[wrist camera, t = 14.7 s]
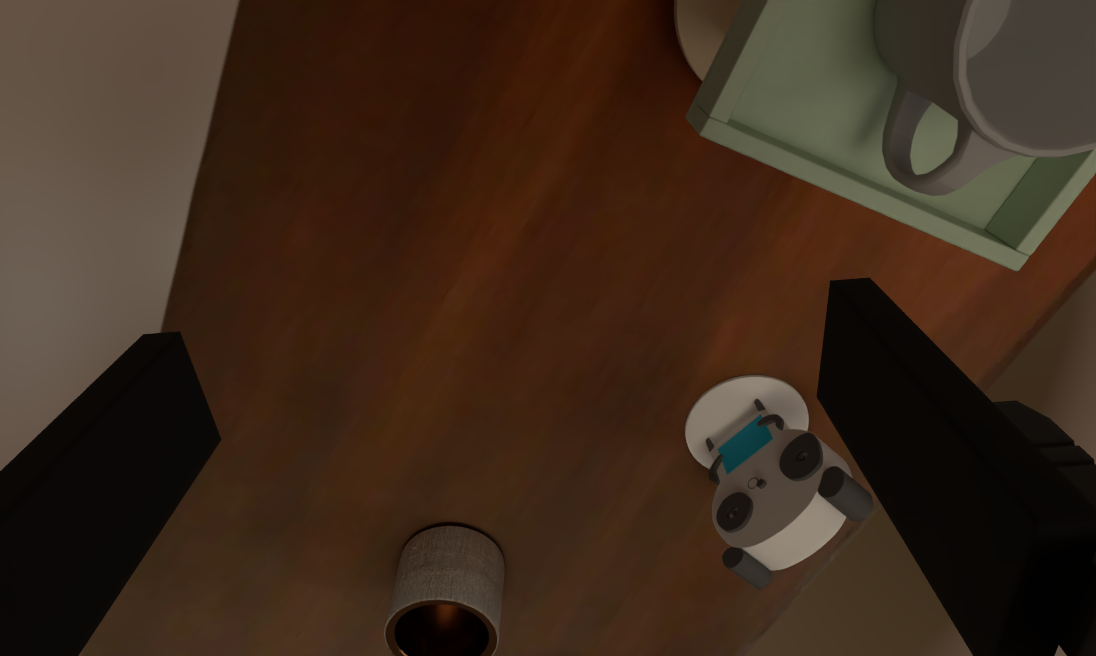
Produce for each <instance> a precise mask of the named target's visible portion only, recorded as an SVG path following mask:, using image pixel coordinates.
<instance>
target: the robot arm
mask: <svg viewBox="0 0 1096 656" xmlns="http://www.w3.org/2000/svg"><path fill="white" fill-rule="evenodd" d="M817 398H818V400H819V401H820V403H821V405H822V406H823V408H824V410H825V411H826V413H827V415H828V416H829V418H830V420H831V421H832V423H833V425H834V426H835V428H836V430H837V431H838V433H839V435H840V436H841V438H842V440H843V441H844V443H845V445H846V446H847V448H848V449H849V451H850V453H851V454H852V456H853V458H854V459H855V461H856V463H857V464H858V466H859V468H860V469H861V471H862V473H863V474H864V476H865V478H866V479H867V481H868V483H869V484H870V486H871V488H872V489H873V491H874V492H875V494H876V496H877V497H878V499H879V501H880V502H881V504H882V506H883V507H884V509H885V511H886V512H887V514H888V516H889V517H890V519H891V521H892V522H893V524H894V525H895V527H896V529H897V531H898V532H899V534H900V535H901V537H902V539H903V540H904V542H905V544H906V545H907V547H908V549H909V550H910V552H911V554H912V555H913V557H914V559H915V560H916V562H917V564H918V565H919V567H920V568H921V570H922V572H923V573H924V575H925V577H926V578H927V580H928V582H929V583H930V585H931V587H932V588H933V590H934V592H935V593H936V595H937V597H938V598H939V600H940V602H941V603H942V605H943V607H944V608H945V610H946V611H947V613H948V615H949V617H950V618H951V620H952V621H953V623H954V625H955V627H956V628H957V630H958V631H959V633H960V635H961V636H962V638H963V640H964V641H965V643H966V645H967V646H968V648H969V650H970V651H971V653H972V655H973V656H1054V655H1055V653H1056V650H1057V648H1058V645H1059V646H1060V647H1061V648H1062V650H1063V651H1064V652H1065V654H1066V655H1067V656H1096V465H1095V464H1094V459H1093V458H1092V457H1091V456H1090V455H1088V454H1087V453H1086V452H1085V451H1084V450H1083V449H1082V448H1081V447H1080V446H1075V444H1074V440H1072V439H1071V438H1070V437H1069V436H1068V435H1067V434H1066V433H1065V432H1064V431H1063V430H1062V429H1061V428H1059V427H1058V426H1057V425H1056V424H1055V423H1054V422H1053V421H1052V420H1051V419H1050V418H1048V417H1046V416H1044V415H1042V414H1040V413H1039V412H1037V411H1035V410H1033V409H1031V408H1029V407H1027V406H1025V405H1024V404H1022V403H1020V402H1018V401H1005V402H991V400H989V399H988V397H987V396H986V395H985V394H984V393H983V392H982V391H981V390H980V389H979V388H978V387H977V386H976V385H975V384H974V383H973V382H972V381H971V380H970V379H969V378H968V377H967V376H966V375H965V374H964V373H963V372H962V371H961V370H960V369H959V368H958V367H957V366H956V365H955V364H954V363H953V362H952V361H951V360H950V359H949V358H948V357H947V356H946V355H945V354H944V353H943V352H942V351H941V350H940V349H939V348H938V347H937V346H936V345H935V344H934V343H933V342H932V341H931V340H930V339H929V337H928V336H927V335H926V334H925V333H924V332H923V331H922V330H921V329H920V328H919V327H918V326H917V325H916V324H915V323H914V322H913V321H912V320H911V319H910V318H909V317H908V316H907V315H906V314H905V313H904V312H903V311H902V310H901V309H900V308H899V307H898V306H897V305H896V304H895V303H894V302H893V301H892V300H891V299H890V298H889V297H888V296H887V295H886V294H885V293H884V292H883V291H882V290H881V289H880V288H879V287H878V286H877V285H876V284H875V283H874V282H873V281H872V280H871V279H870V278H859V279H846V280H834V281H830V287H829V296H828V304H827V313H826V321H825V330H824V338H823V347H822V356H821V364H820V373H819V381H818V390H817ZM220 441H221V437H220V435H219V432H218V430H217V427H216V424H215V422H214V419H213V417H212V414H211V411H210V409H209V406H208V404H207V401H206V398H205V396H204V393H203V391H202V388H201V385H200V383H199V380H198V378H197V375H196V372H195V370H194V367H193V364H192V362H191V359H190V357H189V354H188V351H187V349H186V346H185V344H184V341H183V338H182V336H181V333H180V332H167V333H155V334H143V335H142V336H141V337H140V338H139V339H138V340H137V341H136V342H135V343H134V344H133V345H132V346H131V347H130V348H129V349H128V350H126V351H125V352H124V353H123V354H122V355H121V356H120V357H119V358H118V359H117V360H116V361H115V362H114V363H113V364H112V365H111V366H110V367H109V368H108V369H107V370H106V371H105V372H104V373H102V374H101V375H100V376H99V377H98V378H97V379H96V380H95V381H94V382H93V383H92V384H91V385H90V386H89V387H88V388H87V389H86V390H85V391H84V392H83V393H82V394H81V395H80V396H78V398H77V399H75V400H74V401H73V402H72V403H71V404H70V405H69V406H68V407H67V408H66V409H65V410H64V411H63V412H62V413H61V414H60V415H59V416H58V417H57V418H56V419H54V420H53V422H51V423H50V424H49V425H48V426H47V427H46V428H45V429H44V430H43V431H42V432H41V433H40V434H39V435H38V436H37V437H36V438H35V439H34V440H33V441H32V442H30V443H29V445H27V446H26V447H25V448H24V449H23V450H22V451H21V452H20V453H19V454H18V455H17V456H16V457H15V458H14V459H13V460H12V461H11V462H10V463H9V464H8V465H6V466H5V467H4V468H3V469H2V470H1V471H0V656H79V654H80V653H81V651H82V650H83V648H84V646H85V645H86V643H87V642H88V640H89V639H90V637H91V636H92V634H93V633H94V631H95V630H96V628H97V627H98V625H99V624H100V622H101V621H102V619H103V618H104V616H105V615H106V613H107V612H108V610H109V609H110V607H111V606H112V604H113V603H114V601H115V600H116V598H117V597H118V595H119V594H120V592H121V591H122V589H123V588H124V586H125V584H126V583H127V581H128V580H129V578H130V577H131V575H132V574H133V572H134V571H135V569H136V568H137V566H138V565H139V563H140V562H141V560H142V559H143V557H144V556H145V554H146V553H147V551H148V550H149V548H150V547H151V545H152V544H153V542H154V541H155V539H156V538H157V536H158V535H159V533H160V532H161V530H162V529H163V527H164V526H165V524H166V522H167V521H168V519H169V518H170V516H171V515H172V513H173V512H174V510H175V509H176V507H177V506H178V504H179V503H180V501H181V500H182V498H183V497H184V495H185V494H186V492H187V491H188V489H189V488H190V486H191V485H192V483H193V482H194V480H195V479H196V477H197V476H198V474H199V473H200V471H201V470H202V468H203V467H204V465H205V463H206V462H207V460H208V459H209V457H210V456H211V454H212V453H213V451H214V450H215V448H216V447H217V445H218V444H219V442H220Z"/></svg>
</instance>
